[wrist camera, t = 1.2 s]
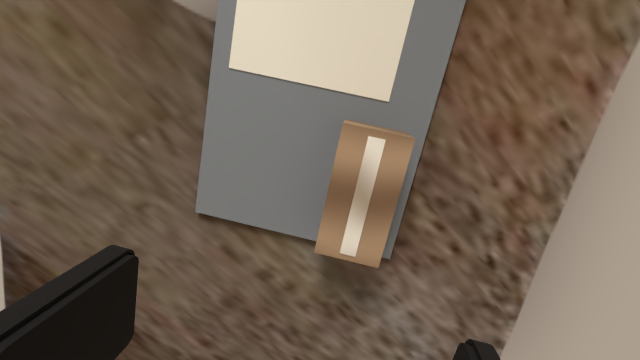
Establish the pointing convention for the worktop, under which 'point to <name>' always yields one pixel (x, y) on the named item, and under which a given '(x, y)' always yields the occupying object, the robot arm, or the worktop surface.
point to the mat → (313, 99)
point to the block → (363, 192)
